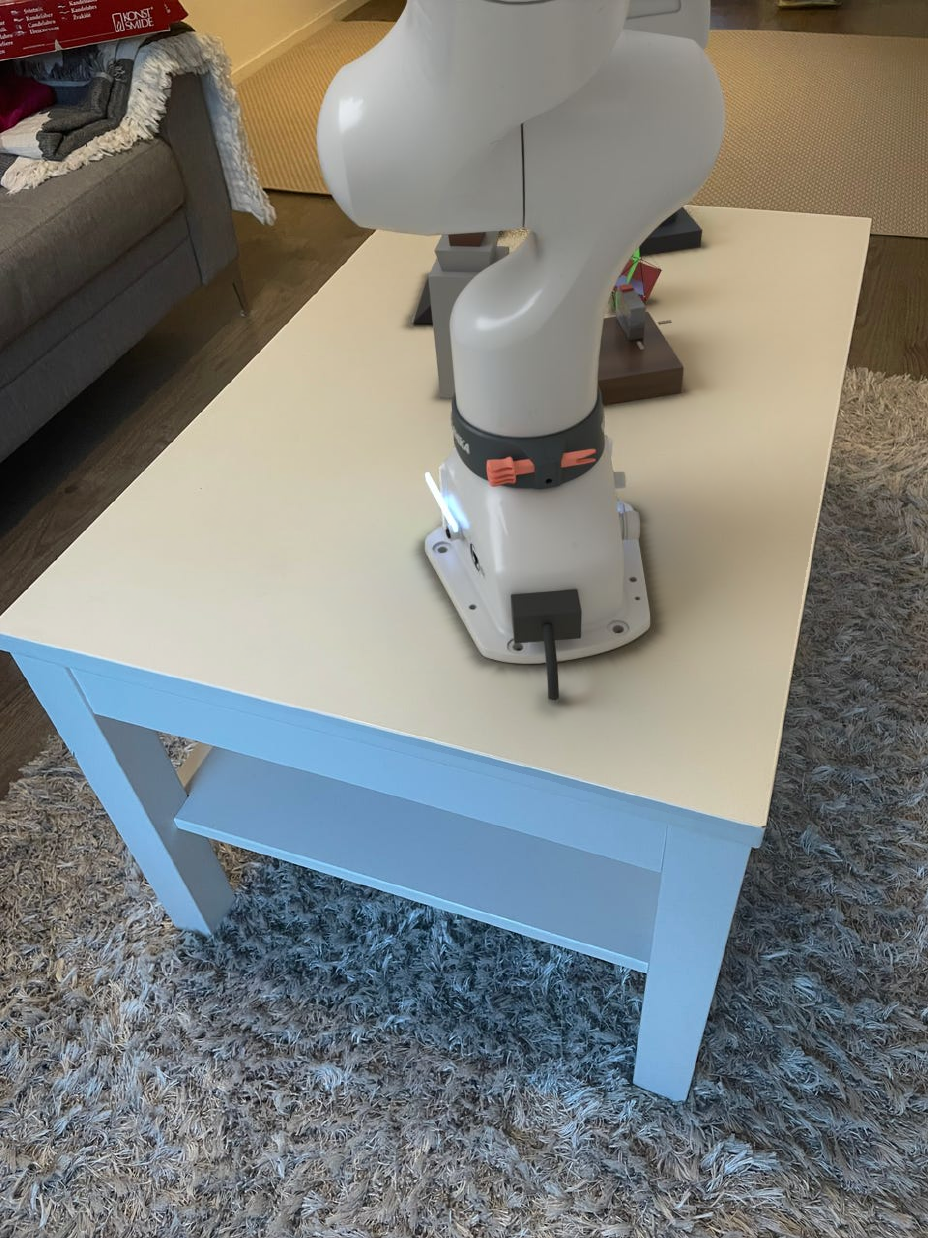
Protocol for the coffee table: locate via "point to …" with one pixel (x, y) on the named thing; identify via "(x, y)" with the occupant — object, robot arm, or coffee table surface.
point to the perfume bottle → (456, 288)
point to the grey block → (630, 312)
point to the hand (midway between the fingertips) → (590, 122)
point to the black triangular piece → (424, 309)
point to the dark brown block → (636, 363)
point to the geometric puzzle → (638, 277)
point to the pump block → (673, 235)
